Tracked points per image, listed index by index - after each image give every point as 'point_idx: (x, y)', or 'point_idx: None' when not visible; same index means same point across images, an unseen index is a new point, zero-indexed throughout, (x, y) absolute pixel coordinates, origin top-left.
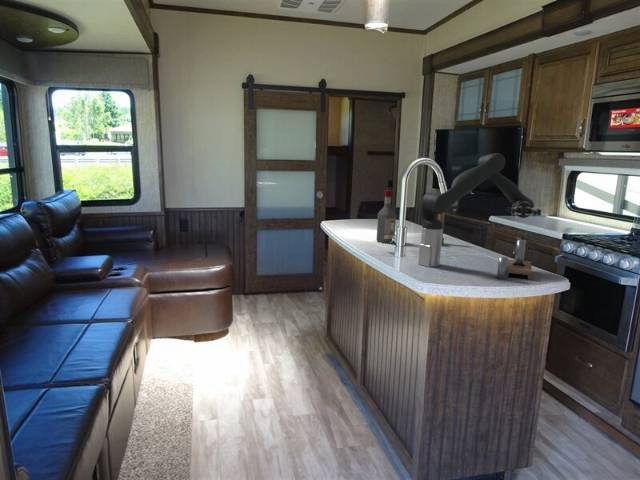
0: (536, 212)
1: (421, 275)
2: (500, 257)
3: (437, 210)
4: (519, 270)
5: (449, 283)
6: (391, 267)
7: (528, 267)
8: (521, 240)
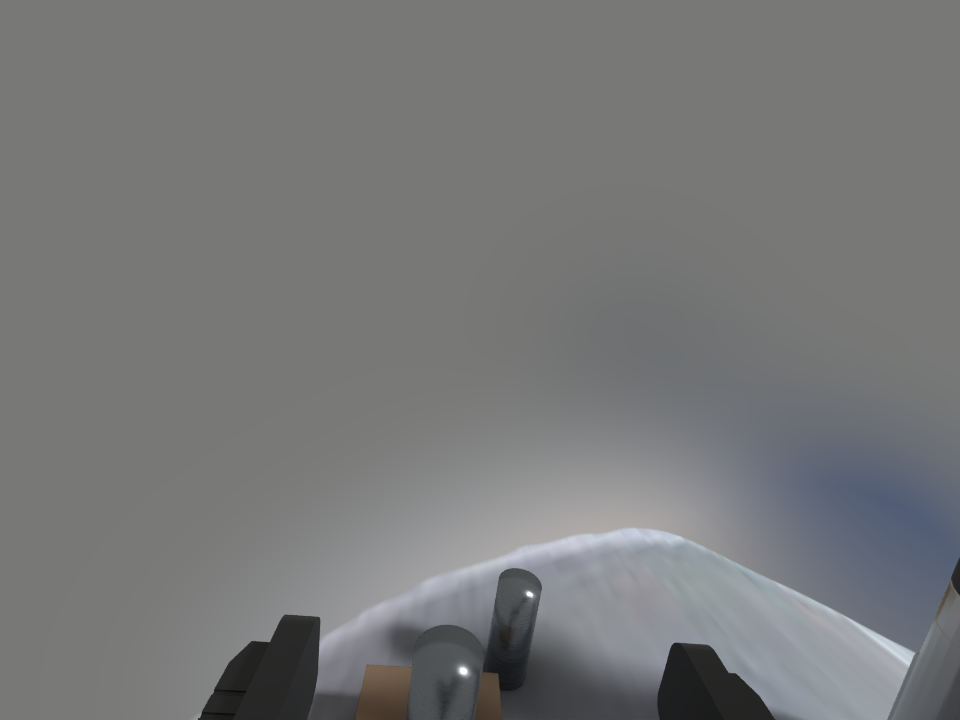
0: (254, 655)
1: (754, 599)
2: (534, 584)
3: None
4: None
5: (632, 553)
6: None
7: None
8: (450, 639)
